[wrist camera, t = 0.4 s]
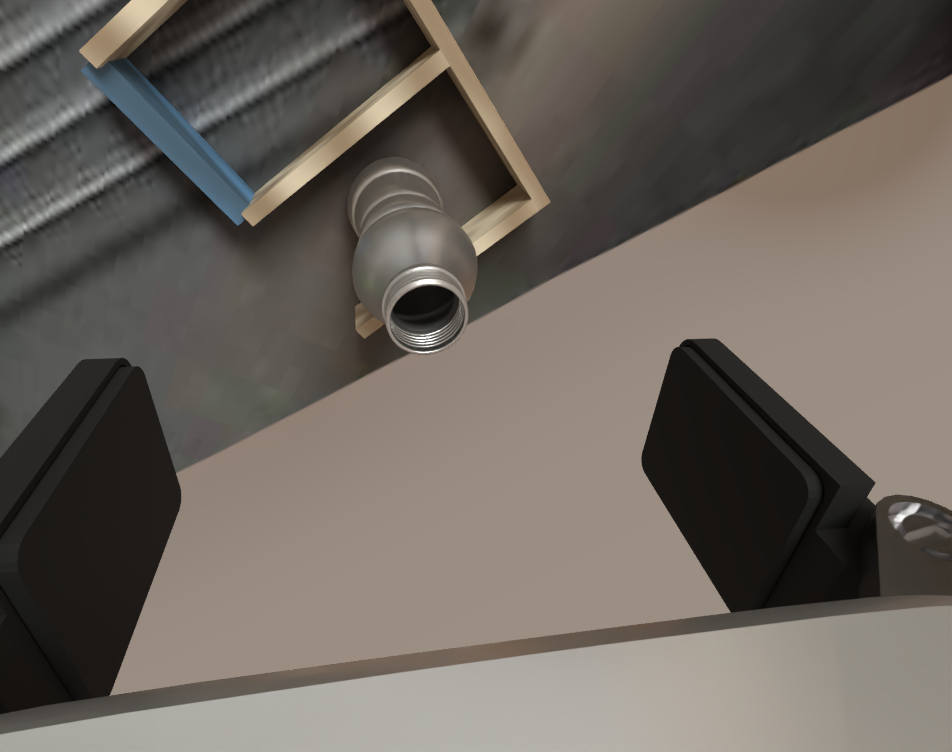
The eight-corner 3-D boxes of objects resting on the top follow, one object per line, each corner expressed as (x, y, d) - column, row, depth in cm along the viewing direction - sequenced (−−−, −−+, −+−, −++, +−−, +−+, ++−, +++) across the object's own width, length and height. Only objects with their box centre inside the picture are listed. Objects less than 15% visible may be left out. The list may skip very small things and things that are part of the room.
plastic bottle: (328, 182, 39) (317, 303, 23) (408, 130, 38) (457, 217, 22) (379, 255, 43) (401, 405, 26) (453, 209, 42) (525, 334, 26)
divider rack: (353, 322, 45) (354, 346, 42) (93, 58, 33) (66, 63, 29) (534, 187, 42) (550, 202, 39) (324, -162, 30) (322, -184, 26)
